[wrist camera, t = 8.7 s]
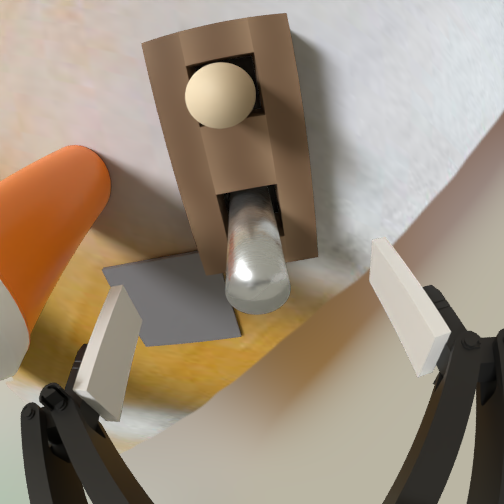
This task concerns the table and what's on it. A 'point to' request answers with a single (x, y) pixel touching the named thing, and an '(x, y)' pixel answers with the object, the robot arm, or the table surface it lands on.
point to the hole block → (237, 133)
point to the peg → (255, 254)
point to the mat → (176, 299)
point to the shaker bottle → (42, 237)
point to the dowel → (220, 95)
